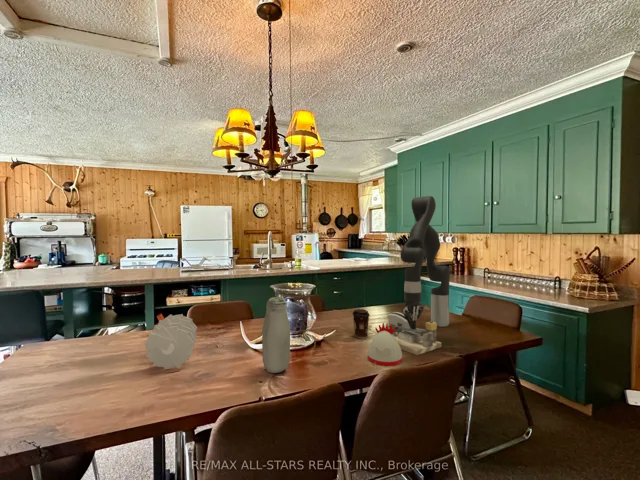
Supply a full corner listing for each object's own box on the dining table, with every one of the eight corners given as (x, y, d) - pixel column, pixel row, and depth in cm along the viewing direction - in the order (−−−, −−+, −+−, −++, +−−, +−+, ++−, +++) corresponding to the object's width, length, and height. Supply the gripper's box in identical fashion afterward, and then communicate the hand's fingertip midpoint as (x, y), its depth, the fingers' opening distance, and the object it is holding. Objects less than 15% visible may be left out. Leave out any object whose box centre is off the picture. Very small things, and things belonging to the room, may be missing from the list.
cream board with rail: (403, 334, 165) (403, 319, 165) (441, 346, 147) (441, 330, 147) (379, 340, 155) (379, 325, 155) (416, 355, 137) (417, 337, 137)
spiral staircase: (187, 358, 145) (180, 380, 121) (147, 344, 140) (132, 364, 116) (205, 319, 147) (202, 333, 123) (167, 305, 143) (156, 316, 119)
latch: (431, 327, 151) (431, 319, 151) (436, 329, 149) (436, 321, 149) (425, 329, 149) (425, 320, 149) (431, 330, 146) (431, 322, 146)
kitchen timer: (400, 368, 124) (400, 329, 124) (364, 363, 129) (364, 325, 129) (403, 355, 138) (403, 320, 137) (371, 351, 142) (371, 317, 142)
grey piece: (417, 332, 168) (413, 315, 166) (411, 336, 166) (406, 319, 164) (396, 324, 183) (391, 308, 181) (389, 328, 181) (385, 312, 179)
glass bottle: (278, 379, 115) (278, 301, 114) (257, 372, 120) (256, 297, 120) (295, 369, 123) (295, 296, 123) (274, 363, 129) (274, 293, 128)
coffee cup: (350, 337, 160) (350, 311, 159) (354, 332, 167) (354, 308, 167) (367, 340, 156) (367, 313, 156) (371, 335, 164) (371, 309, 164)
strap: (398, 327, 159) (397, 324, 159) (426, 331, 145) (426, 329, 145) (393, 328, 157) (393, 326, 157) (421, 333, 143) (421, 330, 144)
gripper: (415, 288, 156) (415, 324, 156) (396, 291, 149) (396, 328, 149) (428, 290, 150) (428, 328, 150) (409, 293, 142) (409, 332, 142)
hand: (412, 328), depth 149 cm, fingers closed
